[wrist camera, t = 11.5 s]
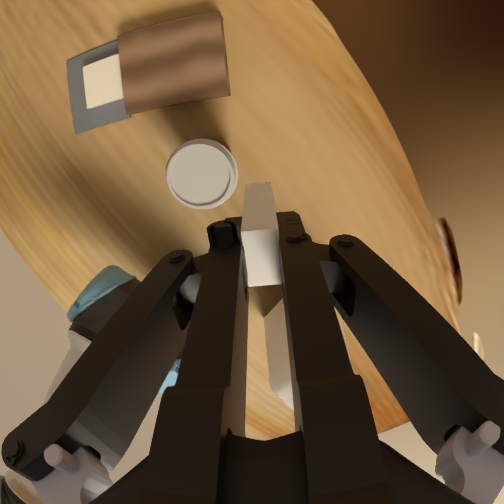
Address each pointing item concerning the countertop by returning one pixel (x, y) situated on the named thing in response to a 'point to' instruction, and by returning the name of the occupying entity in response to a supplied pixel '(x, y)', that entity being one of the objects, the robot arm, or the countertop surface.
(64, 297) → the countertop surface
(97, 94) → the coaster
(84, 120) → the rubber mat
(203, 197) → the disposable coffee cup
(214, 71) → the walnut board
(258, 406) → the countertop surface
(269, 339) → the milk
